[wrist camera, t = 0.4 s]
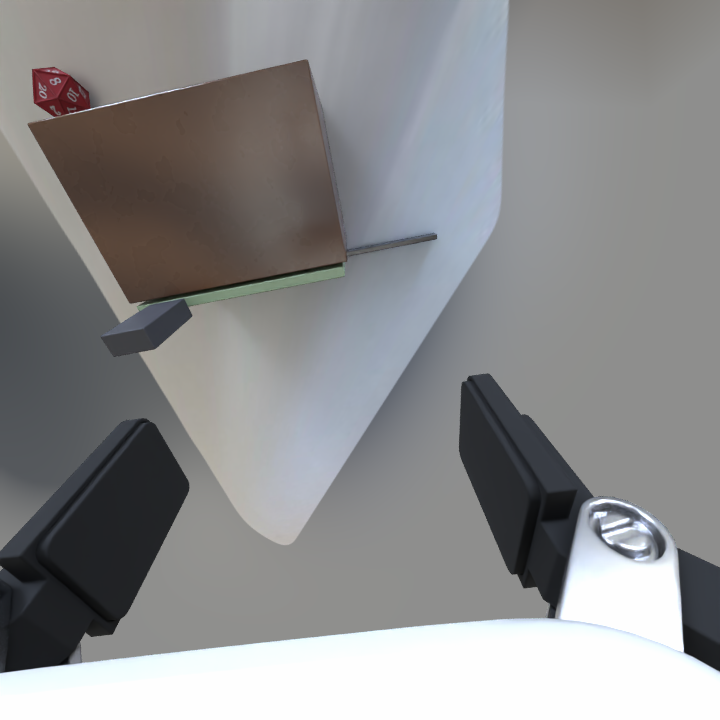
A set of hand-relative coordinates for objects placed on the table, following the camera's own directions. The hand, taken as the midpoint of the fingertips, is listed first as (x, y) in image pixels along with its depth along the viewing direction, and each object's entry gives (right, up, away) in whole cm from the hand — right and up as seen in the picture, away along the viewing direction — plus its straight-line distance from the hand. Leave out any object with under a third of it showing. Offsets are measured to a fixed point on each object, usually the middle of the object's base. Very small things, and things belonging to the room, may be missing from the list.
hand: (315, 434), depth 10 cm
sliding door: (-9, +14, +27) cm, 31 cm away
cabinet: (-5, +20, +24) cm, 32 cm away
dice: (-25, +26, +20) cm, 41 cm away
